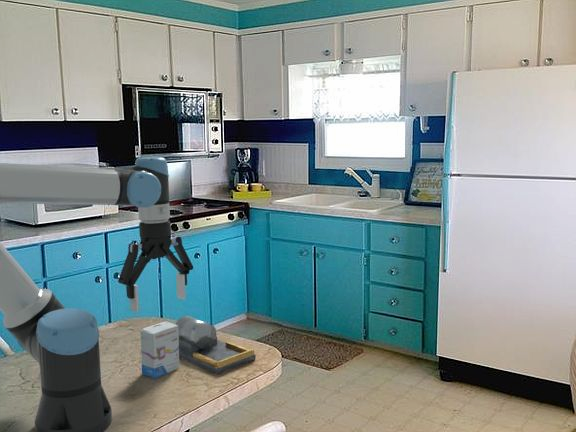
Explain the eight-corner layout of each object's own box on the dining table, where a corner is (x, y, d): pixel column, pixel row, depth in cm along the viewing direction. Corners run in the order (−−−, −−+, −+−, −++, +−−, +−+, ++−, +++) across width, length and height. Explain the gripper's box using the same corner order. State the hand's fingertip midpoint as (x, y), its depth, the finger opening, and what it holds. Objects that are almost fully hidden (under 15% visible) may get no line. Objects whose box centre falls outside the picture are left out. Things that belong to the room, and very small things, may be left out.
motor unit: (217, 374, 148) (216, 341, 147) (162, 350, 165) (161, 320, 164) (255, 359, 158) (254, 328, 156) (200, 337, 174) (199, 309, 173)
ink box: (154, 379, 146) (152, 333, 144) (141, 374, 149) (139, 329, 147) (180, 368, 153) (178, 323, 151) (167, 363, 156) (165, 320, 154)
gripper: (116, 229, 134) (121, 319, 137) (204, 216, 151) (207, 296, 154) (99, 225, 139) (105, 313, 142) (187, 213, 156) (190, 291, 160)
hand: (158, 304), depth 148 cm, fingers open, 13 cm apart
